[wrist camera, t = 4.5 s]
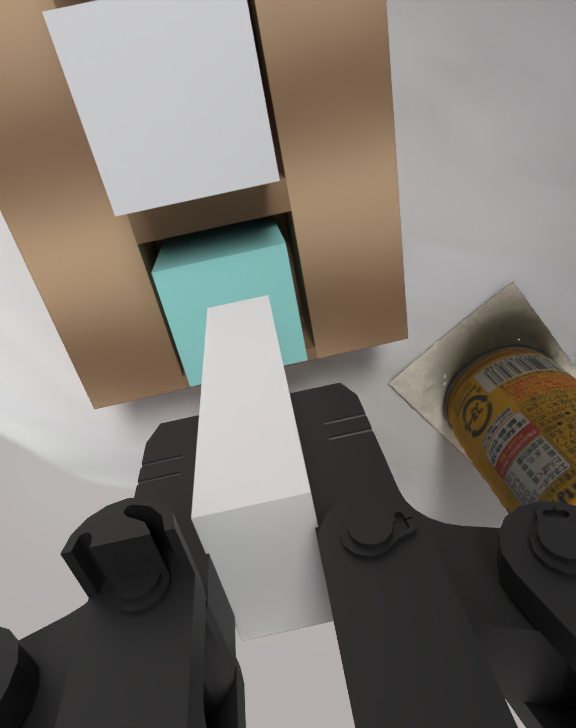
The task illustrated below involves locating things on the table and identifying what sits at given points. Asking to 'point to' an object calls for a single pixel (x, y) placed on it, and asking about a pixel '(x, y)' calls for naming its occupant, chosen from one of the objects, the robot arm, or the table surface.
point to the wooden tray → (280, 199)
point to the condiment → (502, 400)
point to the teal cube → (226, 285)
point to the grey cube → (167, 97)
